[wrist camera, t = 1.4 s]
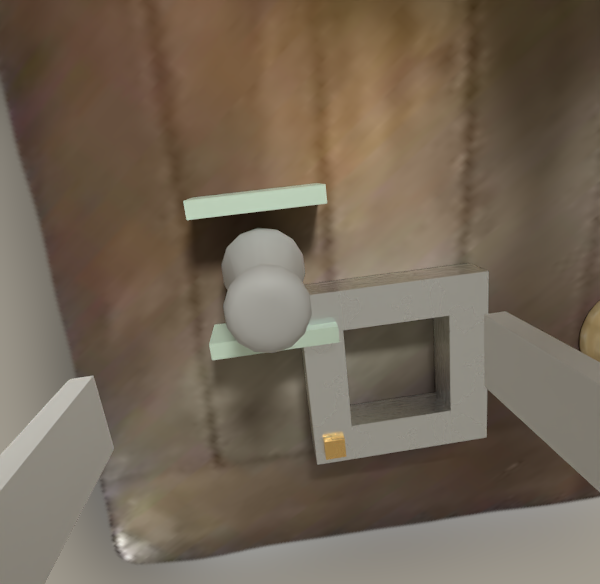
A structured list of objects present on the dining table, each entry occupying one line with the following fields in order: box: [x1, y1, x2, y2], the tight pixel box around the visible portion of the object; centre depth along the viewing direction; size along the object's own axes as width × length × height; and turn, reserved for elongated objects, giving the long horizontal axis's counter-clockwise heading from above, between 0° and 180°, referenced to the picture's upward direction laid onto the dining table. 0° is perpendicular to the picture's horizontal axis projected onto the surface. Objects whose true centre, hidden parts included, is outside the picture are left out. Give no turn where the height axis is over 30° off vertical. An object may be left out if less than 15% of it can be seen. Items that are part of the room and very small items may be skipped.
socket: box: [302, 263, 489, 465], centre depth 34 cm, size 14×14×4 cm
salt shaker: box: [221, 228, 312, 353], centre depth 26 cm, size 6×6×13 cm
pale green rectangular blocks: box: [183, 183, 340, 360], centre depth 30 cm, size 11×9×4 cm
